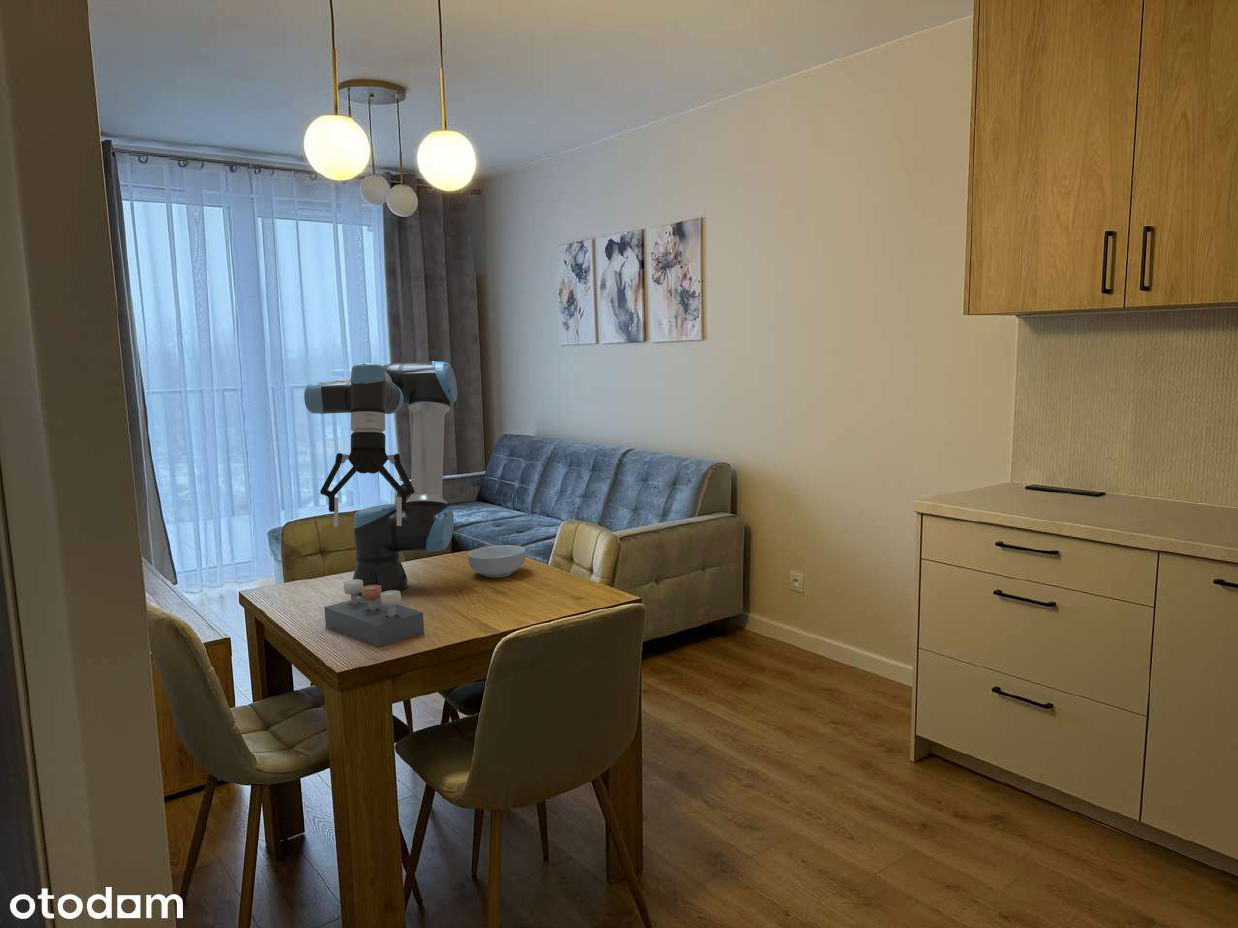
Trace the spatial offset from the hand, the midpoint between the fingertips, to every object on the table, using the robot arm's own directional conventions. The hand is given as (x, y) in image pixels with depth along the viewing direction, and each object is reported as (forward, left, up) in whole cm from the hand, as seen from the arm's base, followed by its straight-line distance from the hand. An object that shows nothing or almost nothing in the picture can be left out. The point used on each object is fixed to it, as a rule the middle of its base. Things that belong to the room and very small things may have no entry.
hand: (368, 526), depth 184 cm
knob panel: (-3, -6, -26) cm, 27 cm away
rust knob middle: (-3, -6, -23) cm, 24 cm away
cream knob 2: (-3, +2, -23) cm, 23 cm away
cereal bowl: (-54, -22, -26) cm, 64 cm away
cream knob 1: (-3, -14, -23) cm, 27 cm away
